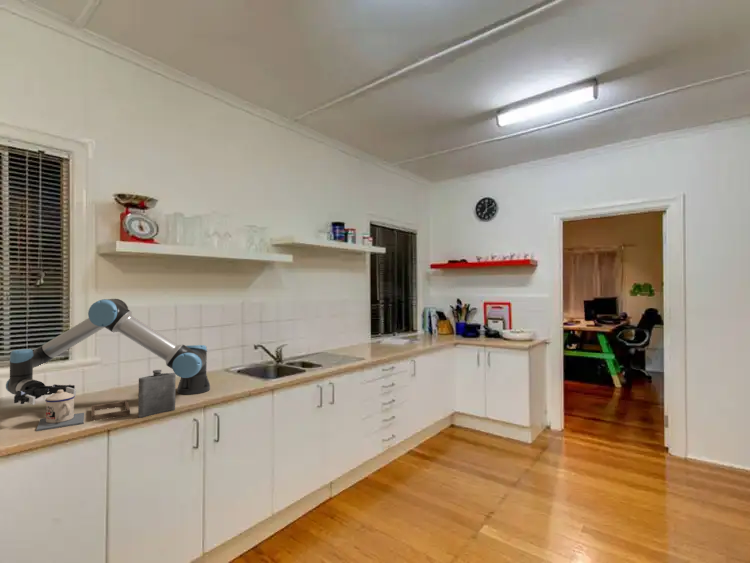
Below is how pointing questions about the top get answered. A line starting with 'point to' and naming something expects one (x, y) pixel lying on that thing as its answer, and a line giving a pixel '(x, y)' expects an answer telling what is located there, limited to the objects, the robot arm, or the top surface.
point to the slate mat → (74, 421)
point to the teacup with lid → (59, 407)
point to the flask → (156, 394)
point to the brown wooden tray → (112, 414)
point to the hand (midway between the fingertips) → (55, 396)
